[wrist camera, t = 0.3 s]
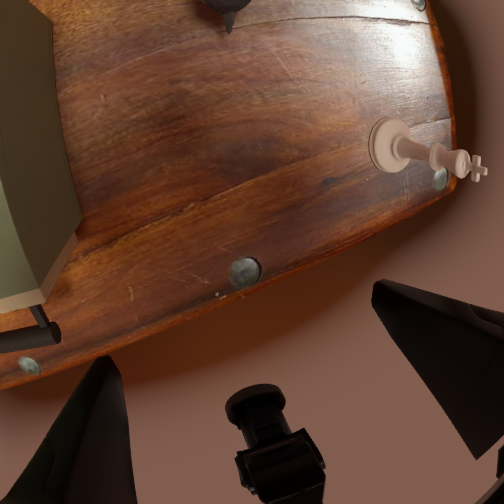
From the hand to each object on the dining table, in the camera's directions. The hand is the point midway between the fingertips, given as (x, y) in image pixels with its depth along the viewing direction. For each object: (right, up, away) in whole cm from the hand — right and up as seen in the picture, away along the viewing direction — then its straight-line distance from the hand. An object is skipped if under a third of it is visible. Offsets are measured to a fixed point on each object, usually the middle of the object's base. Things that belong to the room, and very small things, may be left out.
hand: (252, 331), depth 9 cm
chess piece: (+12, +12, +14) cm, 21 cm away
